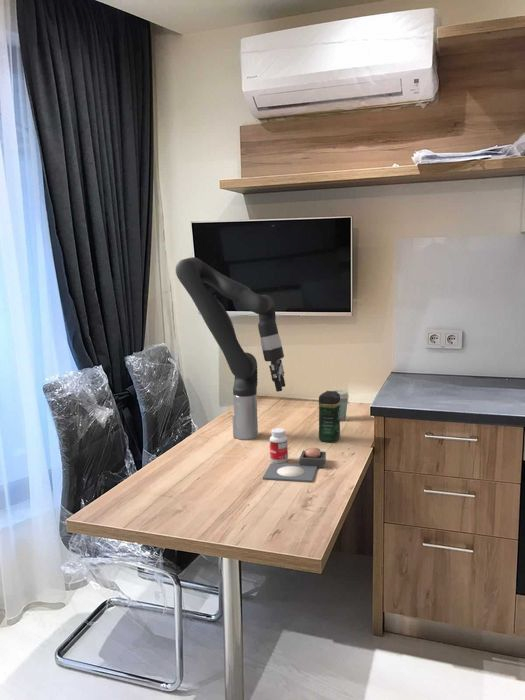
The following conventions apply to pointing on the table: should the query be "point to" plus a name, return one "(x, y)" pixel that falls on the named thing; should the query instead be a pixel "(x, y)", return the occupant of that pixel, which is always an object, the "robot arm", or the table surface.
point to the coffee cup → (343, 404)
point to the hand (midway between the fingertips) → (281, 388)
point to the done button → (312, 452)
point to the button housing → (313, 460)
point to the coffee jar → (329, 416)
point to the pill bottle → (278, 446)
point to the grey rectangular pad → (290, 472)
